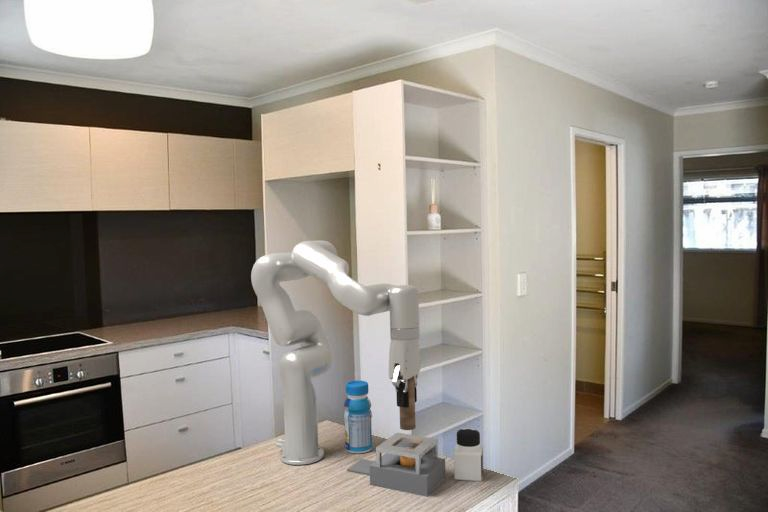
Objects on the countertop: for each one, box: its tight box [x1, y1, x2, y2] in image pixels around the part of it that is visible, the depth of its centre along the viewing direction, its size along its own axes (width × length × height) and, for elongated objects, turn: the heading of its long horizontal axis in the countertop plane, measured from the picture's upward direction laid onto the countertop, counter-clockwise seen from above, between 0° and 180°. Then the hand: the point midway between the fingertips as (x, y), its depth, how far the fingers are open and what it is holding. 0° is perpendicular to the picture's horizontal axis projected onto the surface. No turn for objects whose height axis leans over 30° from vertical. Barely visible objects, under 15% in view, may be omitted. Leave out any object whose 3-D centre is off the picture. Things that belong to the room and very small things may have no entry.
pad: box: [346, 458, 376, 476], centre depth 161 cm, size 8×8×1 cm
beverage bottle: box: [343, 380, 373, 455], centre depth 175 cm, size 8×8×20 cm
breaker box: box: [369, 453, 447, 497], centre depth 152 cm, size 16×12×5 cm
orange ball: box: [400, 447, 416, 468], centre depth 152 cm, size 5×5×6 cm
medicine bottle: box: [453, 427, 484, 482], centre depth 155 cm, size 7×7×12 cm
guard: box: [375, 432, 439, 475], centre depth 152 cm, size 12×12×5 cm
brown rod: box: [399, 375, 416, 431], centre depth 151 cm, size 4×4×16 cm
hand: (406, 403), depth 151 cm, fingers closed on brown rod, 4 cm apart
